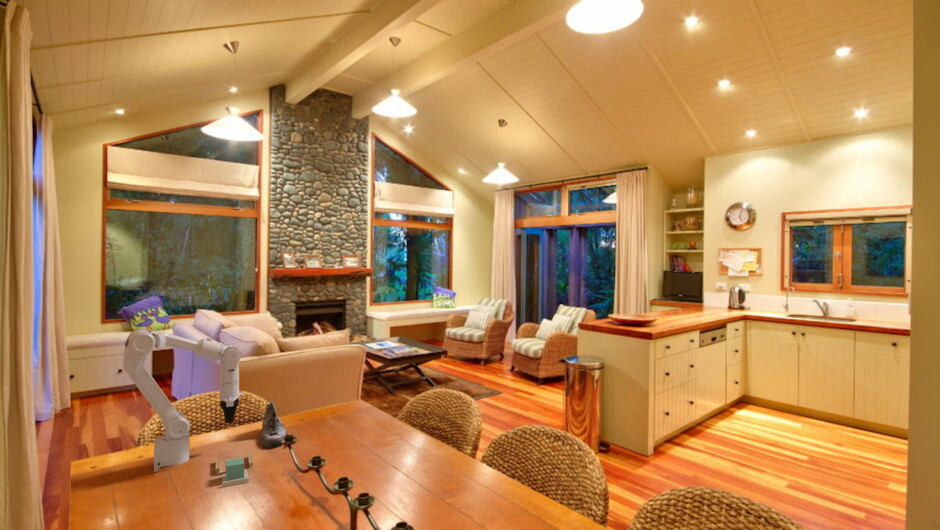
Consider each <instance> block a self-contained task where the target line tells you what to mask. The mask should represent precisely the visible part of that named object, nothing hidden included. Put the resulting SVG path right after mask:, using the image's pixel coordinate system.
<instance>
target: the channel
mask: <svg viewBox="0 0 940 530" xmlns="http://www.w3.org/2000/svg"><path fill="white" fill-rule="evenodd" d="M247 461H248V468H249V469H252V468H254V461H253V454H252V452H251V451H249V452H247ZM220 472H221V471H220V457H216V458H215V475H218V474H219V475H220Z"/></svg>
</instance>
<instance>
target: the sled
mask: <svg viewBox="0 0 940 530" xmlns="http://www.w3.org/2000/svg"><path fill="white" fill-rule="evenodd" d="M238 458H244V456H241V457H234V458H229V459H227V460H232V459H238ZM221 478H222V480H221V482H222V488H225V487H230V486H236V485H242V484H247V483H250V481H249V479H250V478H249V475H248V469H244V478H241V479H235V480H230V481H227V480H226V472H225V473H221Z"/></svg>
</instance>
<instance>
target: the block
mask: <svg viewBox="0 0 940 530" xmlns="http://www.w3.org/2000/svg"><path fill="white" fill-rule="evenodd" d="M237 458H238V459H234V458H231V459H232V460H228V459H225V473H226V480H227V481H230V480H235V479H241V478H244V470H245V459H244V458H245V457H243V458H240V457H237Z"/></svg>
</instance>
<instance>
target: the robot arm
mask: <svg viewBox="0 0 940 530" xmlns="http://www.w3.org/2000/svg"><path fill="white" fill-rule="evenodd" d="M164 347H172V348H178V349H183V350H185V351H186V350H187V351H191V352H192V351H193V352H194V355H195V356H196V357H200V358H203V359H208V360H212V361H220V364H219V365H220V367H219V396H218V398H219V400H220V402H219V406H220V407H221V410H222V411H223V415H224V421H225V424H232V423H234V420H235V417H236V416H235V415H236V411H237V408H238V406H239V404H240V399H239V398H240V397H243V396H244V395H243V394H244V393H243V392H240V367H239V366H240V364H239V363H240V360H241V358H242V353H241V351H240V349H239V348H238V347H236V346H235V345H233V344H230V343H227V342H219V341H214V340H213V338H210V337H207V338H201V339H200V340H193V339H190V338H186V337H183V336H180V335H175V334H172V333H169V332H166V331H158V330H152V329H151V330H148V329H146V328H137V329H135V330H132V331H131V332H130V333H129V334H128V336H127V338H126V340H125V342H124V351H123V358H122V359H123V360H122V361H123V362H122V368H123V370H124V371H125V372H126V374H127V375H128V376H129V378H130V379H131V380H132V382H133V383H134V385H135V386H136V387H137V389H138V390H139V391H140V393H141V395H143V397H144V398H145V399H146V401H147V402H148V404H149V405H150V406H151V407H152V409H153V410H154V411H155V414H157V415H158V417H159V419H160V420H161V424H162V427H163V428H164V429H165V432H164V433H163V434H162V436H161V437H158V438H154V443H153V445H154V446H153V472H155V473H156V472H159V471H160V468H162V467H171V466H173V467H174V466H178V465H182V464H185V463H187V462H188V461H189V460H190V428H191V423H190V421H189V420H188V419H187V418H186V416H185V414H184V413H183V412H182V411H179V410H178V409H176V407H175V406H174V405H173V403H172V402H171V401H170V399H169V398H168V397H167V395H166V394H165V393H164V391H163V390H162V389H161V387H160V385H159V384H158V383H157V382H156V380H155V379H154V377H153V375H151V373H150V372H149V370H148V369H147V368H146V366H145V362H146V360H147V356H148V355H149V354H150V353H151V352H153V350H154V348H155V349H157V350H158V349H161V348H164Z"/></svg>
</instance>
